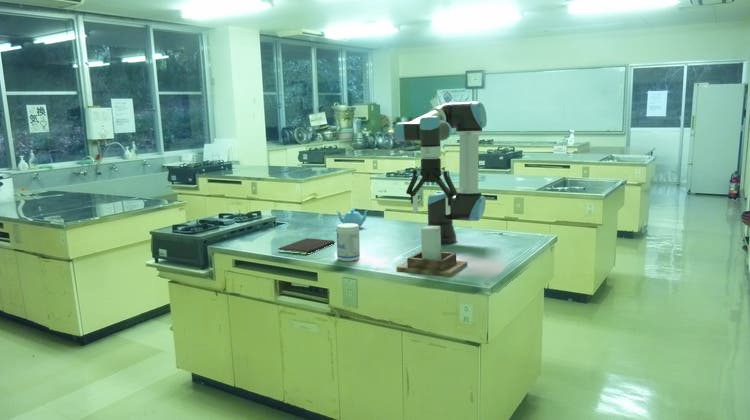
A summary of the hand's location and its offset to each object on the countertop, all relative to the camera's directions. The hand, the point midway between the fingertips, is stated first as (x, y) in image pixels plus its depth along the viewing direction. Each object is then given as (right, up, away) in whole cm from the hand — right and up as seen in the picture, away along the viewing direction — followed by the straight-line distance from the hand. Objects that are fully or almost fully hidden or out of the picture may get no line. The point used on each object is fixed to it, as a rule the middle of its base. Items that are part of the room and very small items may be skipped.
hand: (431, 213), depth 208 cm
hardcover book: (-53, -17, +44) cm, 72 cm away
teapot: (-34, -9, +89) cm, 96 cm away
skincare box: (0, -20, +3) cm, 20 cm away
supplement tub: (-33, -20, +21) cm, 44 cm away
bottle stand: (+1, -21, +3) cm, 22 cm away
